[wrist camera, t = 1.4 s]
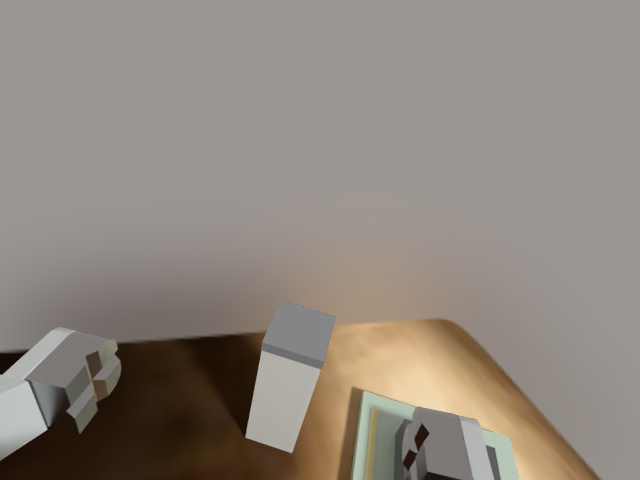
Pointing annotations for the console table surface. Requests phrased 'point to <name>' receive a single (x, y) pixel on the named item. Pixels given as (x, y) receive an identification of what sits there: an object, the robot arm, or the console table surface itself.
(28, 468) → the console table surface
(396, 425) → the board
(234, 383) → the console table surface
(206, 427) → the console table surface
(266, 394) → the plug
